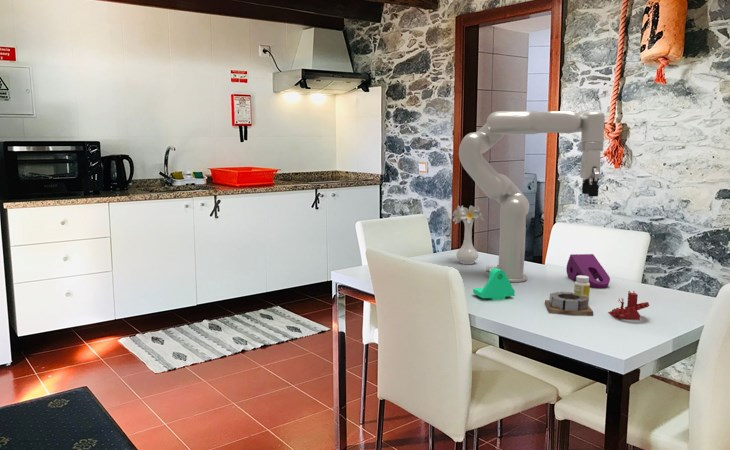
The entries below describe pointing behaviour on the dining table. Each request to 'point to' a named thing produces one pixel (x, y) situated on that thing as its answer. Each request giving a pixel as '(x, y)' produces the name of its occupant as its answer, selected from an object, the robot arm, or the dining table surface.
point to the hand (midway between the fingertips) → (589, 195)
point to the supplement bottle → (582, 285)
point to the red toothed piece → (629, 308)
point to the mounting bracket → (587, 269)
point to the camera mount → (496, 286)
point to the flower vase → (467, 233)
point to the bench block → (559, 311)
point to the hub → (568, 301)
